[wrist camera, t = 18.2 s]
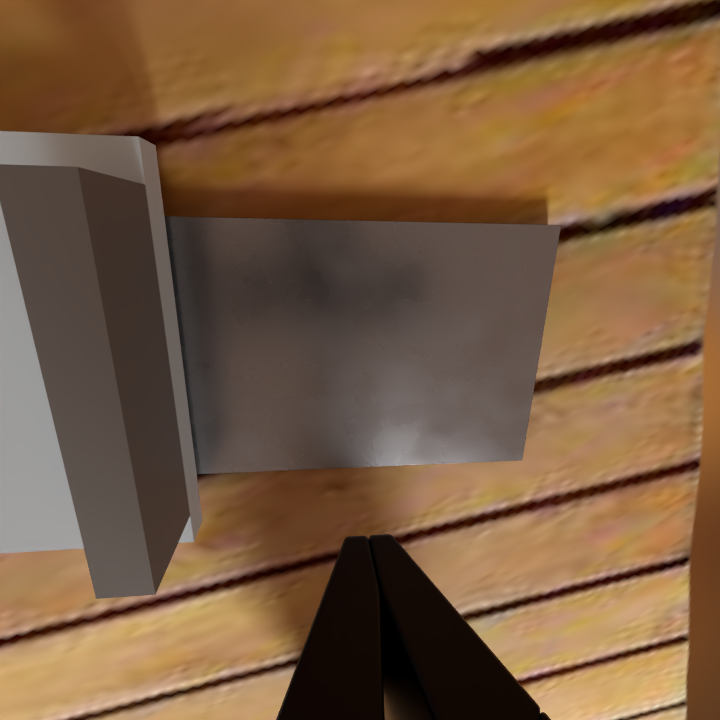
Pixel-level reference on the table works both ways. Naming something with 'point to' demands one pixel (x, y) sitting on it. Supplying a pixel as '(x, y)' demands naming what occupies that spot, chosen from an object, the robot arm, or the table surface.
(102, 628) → the table surface
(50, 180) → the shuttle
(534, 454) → the table surface
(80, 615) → the table surface
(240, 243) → the press frame
